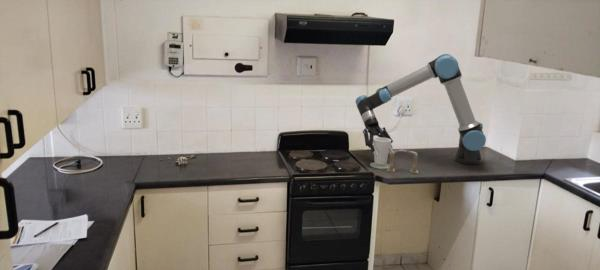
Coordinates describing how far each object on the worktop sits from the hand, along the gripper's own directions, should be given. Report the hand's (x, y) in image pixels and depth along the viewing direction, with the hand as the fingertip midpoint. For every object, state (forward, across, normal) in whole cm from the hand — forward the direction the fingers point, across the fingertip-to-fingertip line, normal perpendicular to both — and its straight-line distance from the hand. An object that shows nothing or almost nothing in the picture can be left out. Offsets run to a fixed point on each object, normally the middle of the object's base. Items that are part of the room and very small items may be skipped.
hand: (384, 155), depth 264 cm
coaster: (+3, 0, -7) cm, 7 cm away
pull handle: (+10, -6, 0) cm, 12 cm away
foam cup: (+1, 0, -6) cm, 6 cm away
